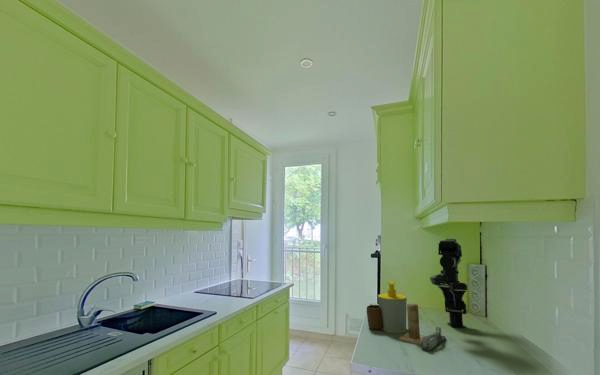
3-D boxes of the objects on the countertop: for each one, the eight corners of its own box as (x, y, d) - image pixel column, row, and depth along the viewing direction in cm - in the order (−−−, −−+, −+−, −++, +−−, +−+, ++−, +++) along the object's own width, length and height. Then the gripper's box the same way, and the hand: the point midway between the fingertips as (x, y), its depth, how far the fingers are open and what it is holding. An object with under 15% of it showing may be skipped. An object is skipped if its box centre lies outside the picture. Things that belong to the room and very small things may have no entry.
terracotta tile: (407, 334, 134) (407, 332, 135) (429, 339, 129) (428, 336, 129) (399, 340, 128) (399, 337, 128) (421, 345, 122) (421, 342, 122)
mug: (364, 323, 152) (362, 303, 153) (379, 322, 152) (377, 302, 153) (370, 330, 140) (368, 309, 141) (387, 329, 140) (384, 307, 142)
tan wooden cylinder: (409, 334, 131) (408, 303, 133) (420, 336, 129) (418, 304, 131) (407, 337, 128) (406, 305, 129) (418, 339, 125) (417, 306, 127)
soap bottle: (380, 332, 138) (378, 283, 141) (378, 323, 151) (376, 279, 154) (410, 333, 136) (407, 284, 139) (405, 325, 148) (403, 280, 151)
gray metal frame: (437, 337, 131) (437, 326, 132) (446, 339, 129) (445, 327, 129) (422, 350, 117) (421, 337, 117) (431, 352, 115) (430, 339, 115)
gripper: (424, 266, 148) (425, 300, 145) (439, 268, 130) (442, 307, 126) (447, 267, 147) (449, 301, 144) (466, 269, 129) (469, 308, 126)
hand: (451, 304), depth 135 cm, fingers open, 9 cm apart
